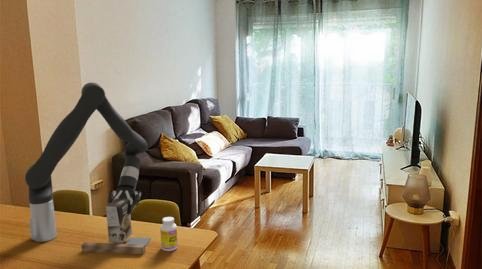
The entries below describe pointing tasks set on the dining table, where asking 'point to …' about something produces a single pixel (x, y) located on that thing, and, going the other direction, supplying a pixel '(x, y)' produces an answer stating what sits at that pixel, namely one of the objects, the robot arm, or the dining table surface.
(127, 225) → the coffee box
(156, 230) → the dining table surface
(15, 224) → the dining table surface
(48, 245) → the dining table surface
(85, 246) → the walnut fence
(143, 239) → the end mat
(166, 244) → the supplement bottle
